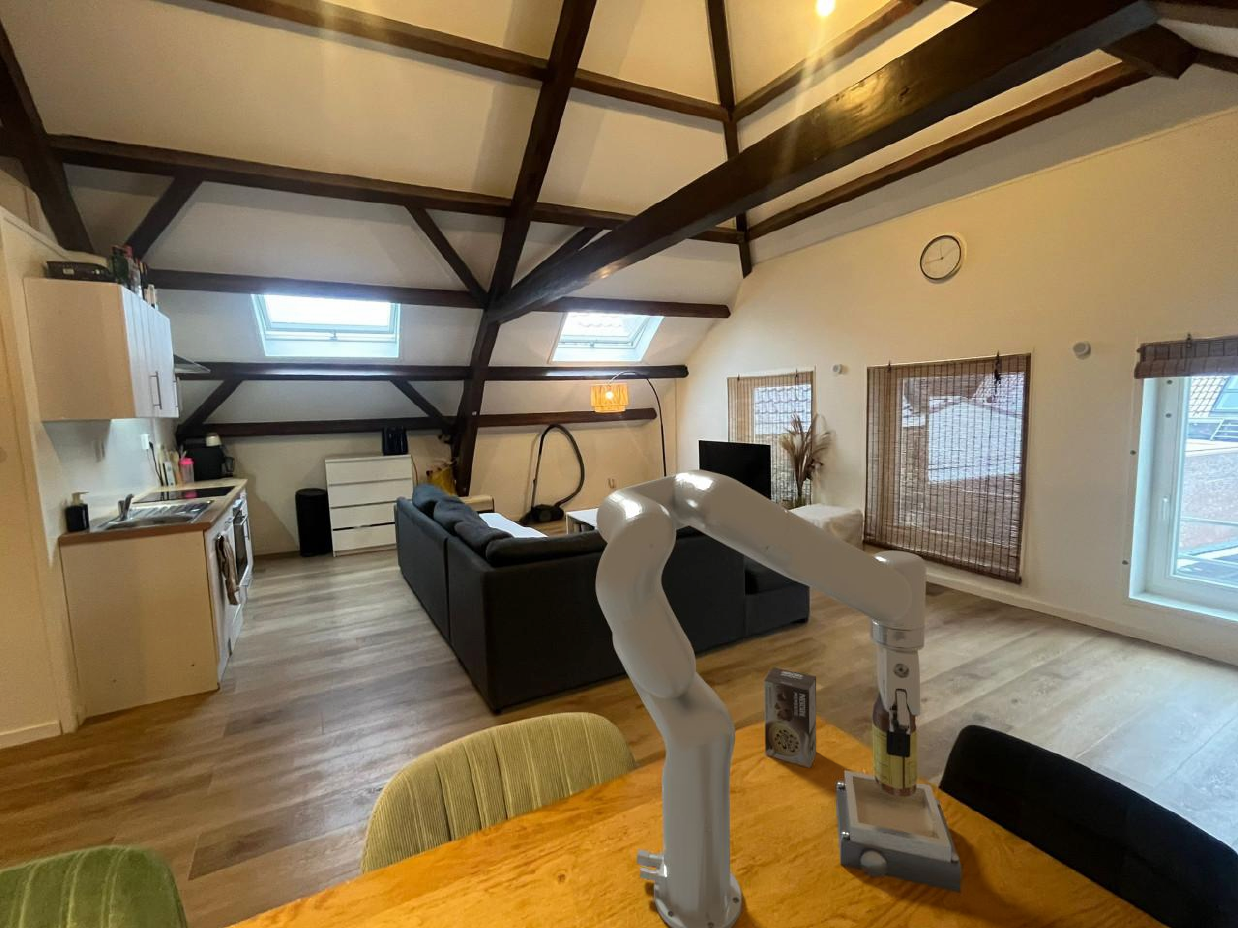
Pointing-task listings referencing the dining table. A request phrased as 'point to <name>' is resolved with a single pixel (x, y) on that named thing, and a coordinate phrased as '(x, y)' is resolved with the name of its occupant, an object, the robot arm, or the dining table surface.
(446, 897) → the dining table surface
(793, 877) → the dining table surface
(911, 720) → the sauce bottle
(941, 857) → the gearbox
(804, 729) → the coffee box
